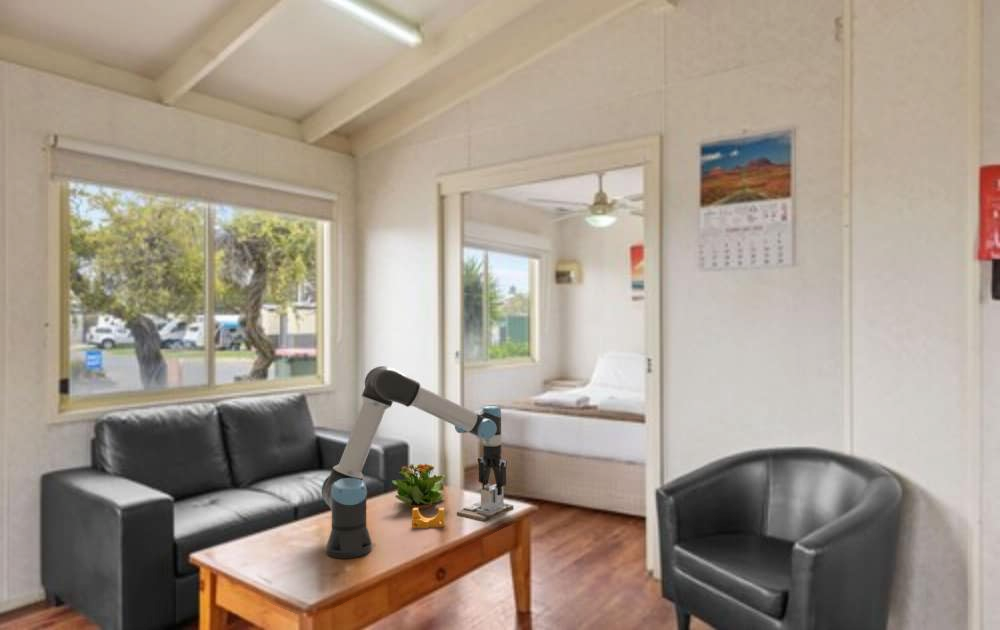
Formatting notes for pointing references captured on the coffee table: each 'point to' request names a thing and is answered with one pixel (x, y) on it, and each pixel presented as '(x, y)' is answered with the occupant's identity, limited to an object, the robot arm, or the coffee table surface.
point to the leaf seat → (492, 512)
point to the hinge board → (472, 513)
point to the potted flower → (419, 487)
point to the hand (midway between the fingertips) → (492, 501)
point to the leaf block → (490, 499)
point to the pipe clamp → (427, 519)
